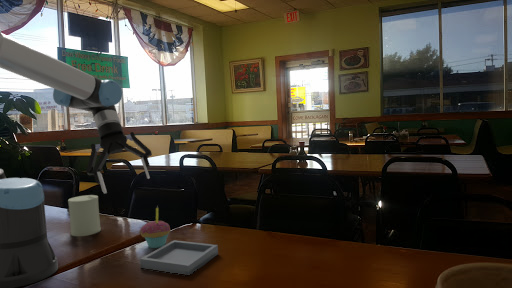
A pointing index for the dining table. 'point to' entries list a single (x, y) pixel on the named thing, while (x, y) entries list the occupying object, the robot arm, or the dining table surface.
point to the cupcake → (155, 232)
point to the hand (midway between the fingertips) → (126, 184)
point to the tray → (180, 257)
